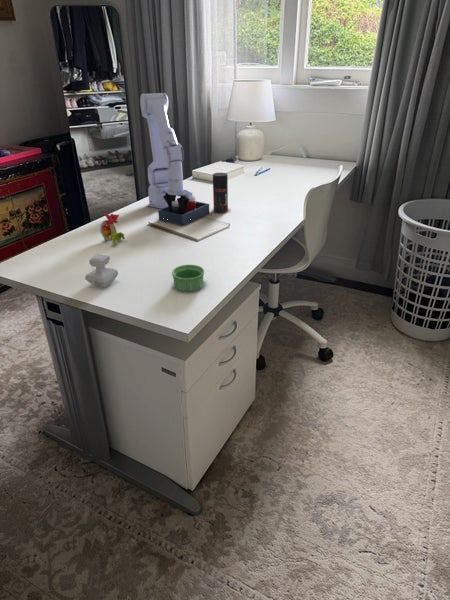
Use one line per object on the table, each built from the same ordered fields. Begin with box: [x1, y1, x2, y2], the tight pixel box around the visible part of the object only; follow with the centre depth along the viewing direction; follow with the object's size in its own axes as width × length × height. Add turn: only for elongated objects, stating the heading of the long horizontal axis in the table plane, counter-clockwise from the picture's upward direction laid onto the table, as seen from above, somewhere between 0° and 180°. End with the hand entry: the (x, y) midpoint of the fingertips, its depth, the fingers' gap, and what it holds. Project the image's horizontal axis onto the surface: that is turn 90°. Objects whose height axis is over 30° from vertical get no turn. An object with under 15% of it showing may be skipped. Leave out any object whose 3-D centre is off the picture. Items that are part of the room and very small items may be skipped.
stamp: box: [84, 253, 119, 288], centre depth 119 cm, size 9×7×8 cm
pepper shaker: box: [171, 199, 180, 214], centre depth 166 cm, size 5×5×7 cm
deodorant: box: [212, 172, 229, 214], centre depth 173 cm, size 6×6×15 cm
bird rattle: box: [99, 212, 126, 246], centre depth 146 cm, size 6×11×9 cm
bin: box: [157, 200, 210, 226], centre depth 170 cm, size 12×17×4 cm
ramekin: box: [171, 264, 205, 292], centre depth 118 cm, size 9×9×4 cm
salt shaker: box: [185, 195, 197, 213], centre depth 172 cm, size 5×5×7 cm
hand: (177, 213), depth 167 cm, fingers closed on pepper shaker, 5 cm apart
